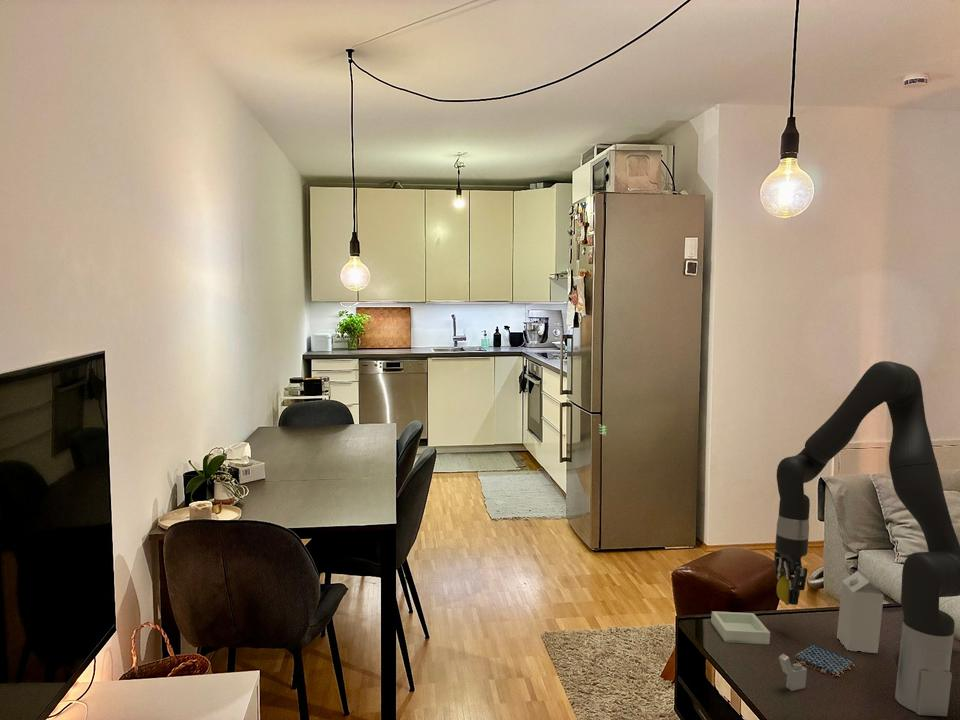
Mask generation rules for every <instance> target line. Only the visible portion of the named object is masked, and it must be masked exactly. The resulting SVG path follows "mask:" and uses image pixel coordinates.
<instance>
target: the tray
mask: <svg viewBox="0 0 960 720" xmlns="http://www.w3.org/2000/svg"><path fill="white" fill-rule="evenodd" d="M710 617H711V619H710V623H711V624H712V626H713V627H714V629H715V630H716V632H717V633H718V634H719V636H720V637H721V639H722V640H723V641H724V643H732V644H734V643H735V644H751V645H752V644H754V645H755V644H756V645H770V643H771V642H770V640H771V631H770V630H769V629H768V628H767V627H766V626H765V625H764V624H763V622H762V621H761V620H760V619H759V618H758V616H757V615H756V614H755V613H754V612H753V613H751V612H731V611H712V610H711V616H710Z"/></svg>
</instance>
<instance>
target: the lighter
mask: <svg viewBox="0 0 960 720" xmlns="http://www.w3.org/2000/svg"><path fill="white" fill-rule="evenodd" d="M778 659H779V663H780V666H781V670H782V672H783V673H785V674H786V684H785V688H786V689H788V690H790V691H791V692H793V691H797V690H802V689H806V683H807V672H808V668H807V667H806V666H804V665H802V664H800V663H797V662H795V663H791V661H790V657H789V656H788V655H786V654H785V653H782V654H780V655H779V656H778Z"/></svg>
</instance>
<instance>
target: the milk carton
mask: <svg viewBox="0 0 960 720" xmlns="http://www.w3.org/2000/svg"><path fill="white" fill-rule="evenodd" d="M871 579H872V578H871V577H870V576H869V575H868V574H867V573H866V572H865V571H864V570H862V568H861V567H859V566H857V570H856V571H855V572H854V573H852V574H850V575H849V576H848V577H846V578H844V579H843V580H842V581H841V590H840V591H841V592H840V601H839V610H838V611H839V612H838V620H837V621H838V623H837V631H836V633H837V634H836V638H837V640H838V639H839V640H840V641H839V640H838V641H839V642H840V643H841V644H842V646H843V645H844V646H843V648H845V649H846V651H848V650H849V651H850V652H857V651H861V652H860V653H870V654H871V653H872V654H878V653H879V643H880V635H881V625H882V615H883V605H884V596H885V595H884V594H883V592H882V591H880V590H879V589H878V588H877V586H875V585H874V584H873V583H872V582H871Z"/></svg>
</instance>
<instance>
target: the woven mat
mask: <svg viewBox="0 0 960 720" xmlns="http://www.w3.org/2000/svg"><path fill="white" fill-rule="evenodd" d="M809 646H810V647H807V648H805V649H804V650H801V652H798V653H797V654H795V656H794V661H793V662H795V661H796V662H795V663H797V662H798V663H801V664H802V666H804V665H806V666H805V667H807V666H808V667H807V668H809V667H811V668H814V669H817V670H819V671H821V672H822V673H821V672H820V673H821V674H823V673H826V674H829V676H828V677H830V676H831V675H832V674H833V675H832V676H835V677H836V676H839V677H841V676H840V675H839V674H840V673H843V674H842V675H844V674H845V673H846V671H845V670H847V671H850V670H852V669H851V668H855V667H856V665H855V663H854V660H853V659H851V658H850V657H848V658H847V657H844V655H842V654H841V655H839V654H837V652H833V651H832V652H831V650H830V649H824V647H823V646H821V647H820V646H817V644H813V645H809ZM807 664H809V665H807ZM851 666H853V667H851ZM850 667H851V668H850ZM811 668H810V669H811ZM818 668H819V669H818ZM814 669H813V670H814ZM848 669H849V670H848ZM827 670H828V671H827ZM843 671H844V672H845V673H844V672H843ZM829 672H830V673H829Z"/></svg>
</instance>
